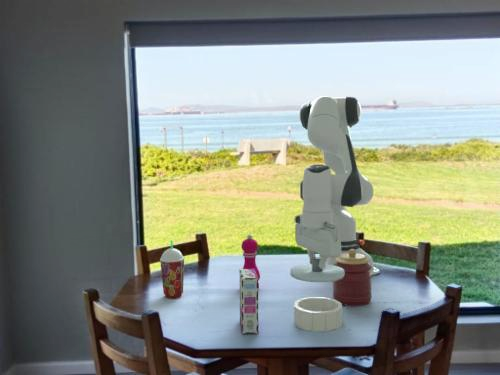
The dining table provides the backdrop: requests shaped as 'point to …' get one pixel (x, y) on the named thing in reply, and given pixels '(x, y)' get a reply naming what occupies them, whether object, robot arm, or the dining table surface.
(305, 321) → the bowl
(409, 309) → the dining table surface
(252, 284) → the candy bar box
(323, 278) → the lid
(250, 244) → the pepper mill
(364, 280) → the canister
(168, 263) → the smoothie
